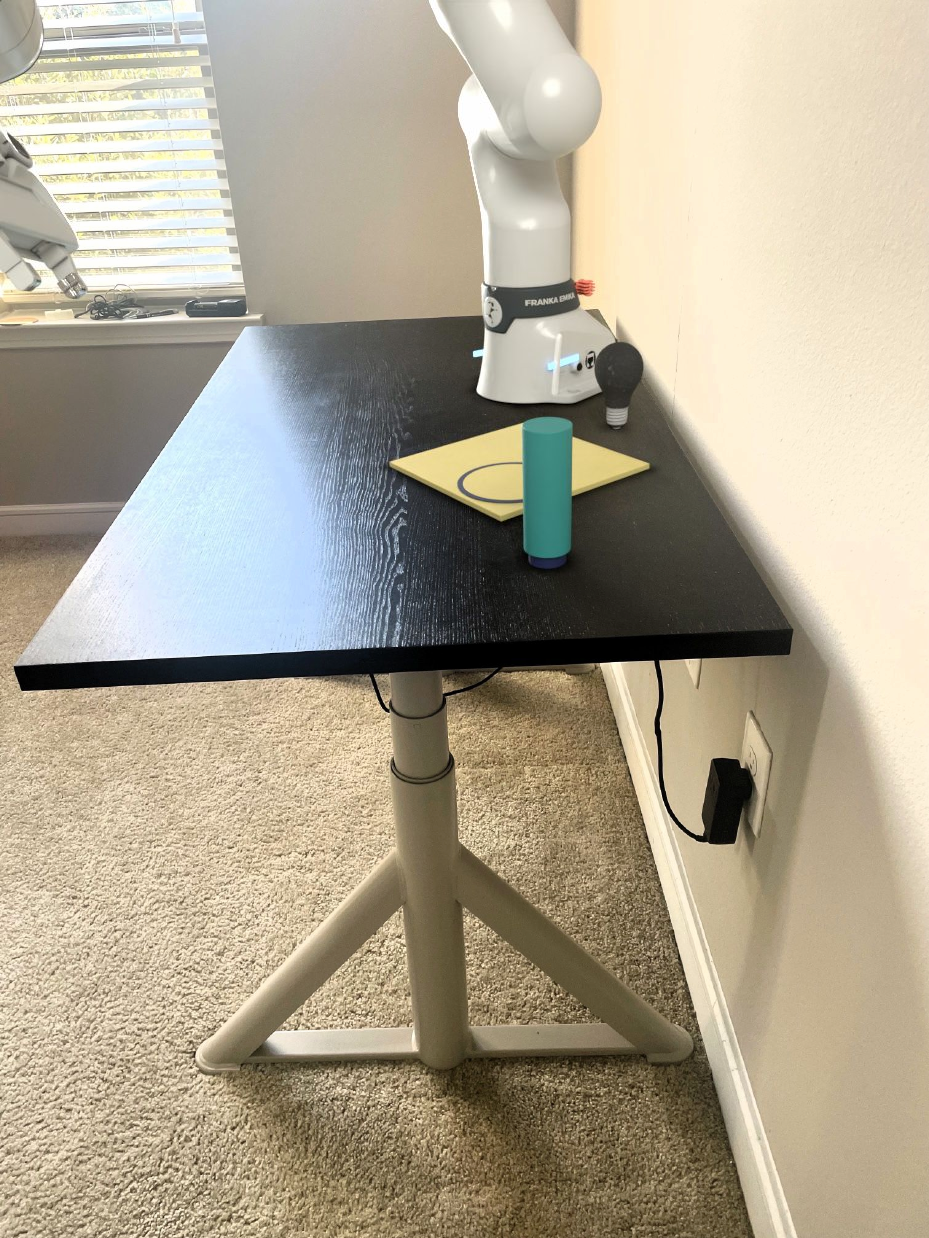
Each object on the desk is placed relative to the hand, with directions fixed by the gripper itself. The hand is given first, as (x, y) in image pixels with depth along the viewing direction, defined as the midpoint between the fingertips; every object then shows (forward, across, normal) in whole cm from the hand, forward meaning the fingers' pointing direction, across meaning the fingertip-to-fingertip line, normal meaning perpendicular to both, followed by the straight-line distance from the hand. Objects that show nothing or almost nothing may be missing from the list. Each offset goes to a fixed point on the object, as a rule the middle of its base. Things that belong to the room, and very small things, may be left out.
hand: (57, 291), depth 77 cm
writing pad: (+37, +12, -26) cm, 47 cm away
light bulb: (+41, +23, -38) cm, 61 cm away
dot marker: (+42, -10, -24) cm, 50 cm away
